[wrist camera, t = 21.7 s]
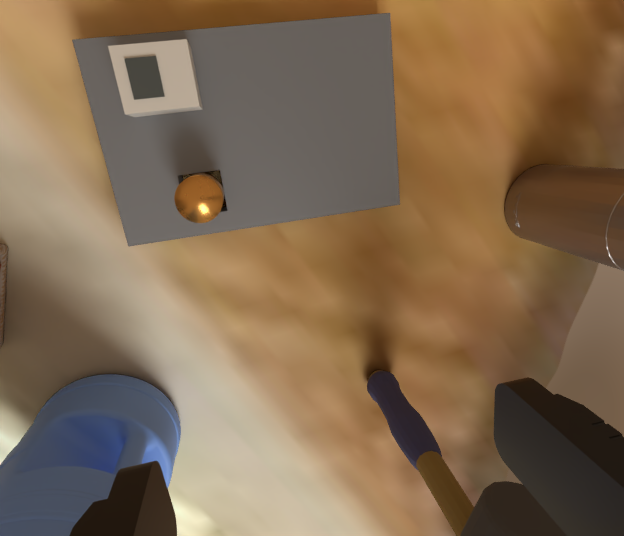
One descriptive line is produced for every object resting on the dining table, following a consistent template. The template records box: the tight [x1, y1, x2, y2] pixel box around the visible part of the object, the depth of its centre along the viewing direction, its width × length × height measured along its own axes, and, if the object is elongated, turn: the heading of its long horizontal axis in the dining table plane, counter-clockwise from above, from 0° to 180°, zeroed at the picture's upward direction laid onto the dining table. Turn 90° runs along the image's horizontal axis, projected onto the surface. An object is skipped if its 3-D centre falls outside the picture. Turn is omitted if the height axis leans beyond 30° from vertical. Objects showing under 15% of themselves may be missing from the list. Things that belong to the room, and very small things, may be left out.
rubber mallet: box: [367, 370, 567, 536], centre depth 38 cm, size 12×8×30 cm, turn 166°
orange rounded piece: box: [174, 173, 224, 223], centre depth 38 cm, size 4×4×8 cm
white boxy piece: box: [108, 39, 203, 117], centre depth 34 cm, size 6×5×4 cm
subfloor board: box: [72, 13, 400, 246], centre depth 40 cm, size 28×18×3 cm, turn 97°
